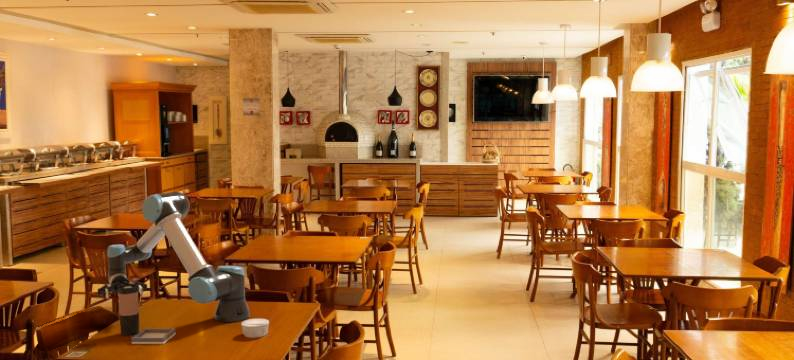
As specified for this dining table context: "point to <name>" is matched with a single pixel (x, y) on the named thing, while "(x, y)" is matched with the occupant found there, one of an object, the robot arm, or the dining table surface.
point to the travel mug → (128, 310)
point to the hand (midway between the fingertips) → (124, 293)
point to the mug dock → (153, 336)
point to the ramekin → (255, 327)
